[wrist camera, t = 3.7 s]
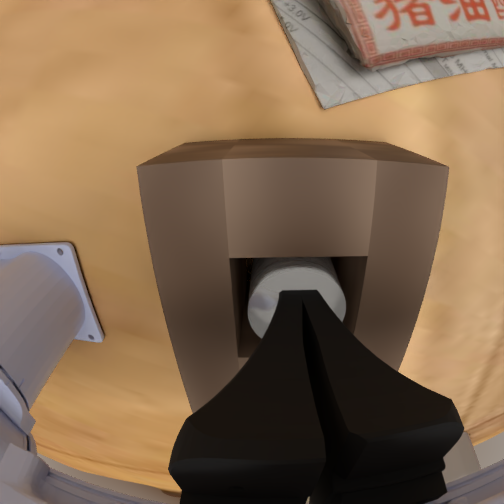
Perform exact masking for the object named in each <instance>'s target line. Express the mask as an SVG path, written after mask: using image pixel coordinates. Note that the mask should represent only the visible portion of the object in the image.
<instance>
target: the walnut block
mask: <svg viewBox="0 0 504 504" xmlns="http://www.w3.org/2000/svg"><path fill="white" fill-rule="evenodd" d="M137 174H138V181H139V188H140V195H141V202H142V208H143V214H144V220H145V226H146V232H147V237H148V242H149V248H150V253H151V258H152V263H153V268H154V272H155V277H156V282H157V286H158V291H159V295H160V299H161V304H162V308H163V312H164V316H165V320H166V324H167V328H168V332H169V335H170V339H171V343H172V346H173V350H174V354H175V357H176V361H177V364H178V368H179V371H180V374H181V378H182V381H183V384H184V387H185V391H186V394H187V397H188V400H189V403H190V406H191V409H192V412H193V413H194V412H196V411H197V410H198V409H200V408H201V407H202V406H204V405H205V404H206V403H207V402H209V401H210V400H211V399H212V398H213V397H214V396H215V395H216V394H217V393H219V392H220V391H221V390H222V389H223V388H224V387H225V386H226V385H227V384H228V383H229V382H230V381H231V380H232V379H233V378H234V376H235V375H236V374H237V373H238V372H239V371H240V369H241V368H242V367H243V366H244V364H245V363H246V362H247V361H248V359H249V358H250V356H251V355H252V354H253V352H254V351H255V349H256V348H257V346H258V344H259V343H260V341H261V339H262V338H260V337H259V336H258V335H257V334H256V333H255V332H254V330H253V329H252V327H251V325H250V322H249V319H248V302H249V292H250V282H251V281H247V272H246V258H266V257H330V258H331V261H332V264H333V266H334V269H335V272H336V274H337V277H338V280H339V283H340V285H341V288H342V291H343V294H344V297H345V301H346V312H345V317H344V319H343V321H342V323H343V324H344V325H345V326H346V327H347V328H348V329H349V331H350V332H351V333H352V334H353V335H354V336H355V337H356V338H357V339H358V340H359V341H360V342H361V343H362V344H363V345H364V346H365V347H366V348H368V349H369V350H370V351H371V352H372V353H373V354H375V355H376V356H377V357H378V358H380V359H381V360H382V361H383V362H385V363H386V364H388V365H389V366H390V367H392V368H393V369H395V370H396V371H398V370H399V367H400V365H401V362H402V360H403V357H404V355H405V352H406V349H407V347H408V344H409V341H410V338H411V335H412V332H413V330H414V327H415V324H416V321H417V317H418V314H419V311H420V308H421V305H422V301H423V298H424V294H425V291H426V287H427V284H428V280H429V276H430V272H431V268H432V264H433V260H434V255H435V251H436V246H437V242H438V237H439V232H440V227H441V221H442V216H443V210H444V203H445V197H446V190H447V182H448V174H449V167H448V166H446V165H443V164H441V163H439V162H436V161H434V160H431V159H429V158H426V157H424V156H421V155H419V154H416V153H414V152H411V151H408V150H406V149H403V148H400V147H398V146H395V145H392V144H389V143H385V142H372V141H358V140H339V139H303V138H275V139H239V140H220V141H205V142H192V143H184V144H182V145H180V146H178V147H175V148H173V149H171V150H169V151H167V152H165V153H163V154H161V155H159V156H156V157H154V158H152V159H150V160H148V161H146V162H144V163H142V164H140V165H138V166H137Z"/></svg>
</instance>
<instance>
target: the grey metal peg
mask: <svg viewBox="0 0 504 504" xmlns="http://www.w3.org/2000/svg"><path fill="white" fill-rule="evenodd" d="M282 290H318V291H319V293H320V294H321V295H322V297H323V298H324V300H325V301H326V302H327V304H328V305H329V306H330V308H331V309H332V310H333V312H334V313H335V314H336V315H337V317H338V318H339V319H340V320H341V321H343V319H344V317H345V312H346V301H345V297H344V294H343V291H342V288H341V285H340V283H339V280H338V277H337V274H336V272H335V269H334V266H333V264H332V261H331V258H330V257H266V258H253V261H252V271H251V282H250V292H249V302H248V319H249V322H250V325H251V327H252V329H253V330H254V332H255V333H256V334H257V335H258V336H259V337H260V338H262V337H263V336H264V334H265V332H266V330H267V328H268V326H269V324H270V322H271V319H272V317H273V315H274V312H275V309H276V306H277V303H278V299H279V293H280V292H281V291H282Z"/></svg>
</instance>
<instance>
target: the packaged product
mask: <svg viewBox="0 0 504 504" xmlns="http://www.w3.org/2000/svg"><path fill="white" fill-rule="evenodd" d="M270 1H271V3H272V5H273V7H274V10H275V12H276V14H277V16H278V18H279V20H280V23H281V25H282V27H283V29H284V31H285V33H286V35H287V37H288V40H289V42H290V44H291V46H292V48H293V51H294V53H295V55H296V57H297V60H298V62H299V64H300V66H301V69H302V70H303V72H304V74H305V76H306V78H307V80H308V81H309V83H310V85H311V87H312V89H313V90H314V92H315V94H316V96H317V98H318V100H319V102H320V104H321V106H322V107H323V108H324V109H327V108H330V107H333V106H337V105H340V104H343V103H346V102H350V101H353V100H357V99H360V98H364V97H368V96H371V95H375V94H379V93H382V92H386V91H390V90H394V89H398V88H402V87H406V86H410V85H413V84H418V83H422V82H426V81H430V80H434V79H439V78H443V77H448V76H452V75H457V74H462V73H470V72H476V71H481V70H484V69H493V68H500V67H504V0H270Z"/></svg>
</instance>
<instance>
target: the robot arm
mask: <svg viewBox="0 0 504 504" xmlns="http://www.w3.org/2000/svg"><path fill="white" fill-rule="evenodd" d="M60 248H61V249H62V251H63V252H62V251H61V249H60ZM73 339H78V340H84V341H91V342H102V341H103V339H104V335H103V332H102V330H101V327H100V325H99V322H98V319H97V317H96V314H95V311H94V309H93V306H92V303H91V300H90V297H89V295H88V292H87V289H86V286H85V283H84V280H83V276H82V273H81V270H80V267H79V263H78V260H77V257H76V253H75V250H74V247H73V246H72V244H70V243H68V242H58V243H34V244H13V245H0V504H167V503H161V502H157V501H152V500H147V499H143V498H139V497H135V496H130V495H127V494H123V493H120V492H116V491H113V490H109V489H106V488H103V487H100V486H97V485H94V484H91V483H88V482H85V481H82V480H80V479H77V478H74V477H72V476H69V475H67V474H64V473H62V472H59V471H57V470H55V469H52V468H50V467H49V465H48V464H46V463H45V462H44V461H43V460H42V459H41V458H40V457H38V456H37V448H36V443H35V440H34V438H33V436H32V434H31V433H30V432H31V430H32V428H33V426H34V424H35V422H36V421H35V419H34V418H33V417H32V416H31V415H30V413H29V410H30V409H31V407H32V405H33V403H34V402H35V400H36V398H37V397H38V395H39V393H40V391H41V390H42V388H43V386H44V385H45V383H46V382H47V380H48V378H49V377H50V375H51V373H52V372H53V370H54V369H55V367H56V365H57V364H58V362H59V361H60V359H61V358H62V356H63V355H64V353H65V351H66V350H67V348H68V347H69V345H70V344H71V342H72V341H73ZM463 431H464V427H463V424H462V422H461V419H460V416H459V414H458V411H457V409H456V407H455V405H454V403H453V402H452V400H451V399H449V398H447V397H445V396H443V395H440V394H438V393H436V392H434V391H431V390H429V389H427V388H425V387H423V386H421V385H419V384H418V383H416V382H414V381H412V380H411V379H409V378H407V377H406V376H404V375H402V374H401V373H399V372H398V371H396V370H395V369H393V368H392V367H390V366H389V365H388V364H386V363H385V362H383V361H382V360H381V359H380V358H378V357H377V356H376V355H375V354H373V353H372V352H371V351H370V350H369V349H368V348H366V347H365V346H364V345H363V344H362V343H361V342H360V341H359V340H358V339H357V338H356V337H355V336H354V335H353V334H352V333H351V332H350V331H349V329H348V328H347V327H346V326H345V325H344V324H343V323H342V321H341V320H340V319H339V318H338V317H337V315H336V314H335V313H334V312H333V310H332V309H331V308H330V306H329V305H328V304H327V302H326V301H325V300H324V298H323V297H322V295H321V294H320V293H319V291H318V290H282V291H281V292H280V293H279V299H278V303H277V306H276V309H275V312H274V315H273V317H272V319H271V322H270V324H269V326H268V328H267V330H266V332H265V334H264V336H263V337H262V339H261V341H260V343H259V344H258V346H257V348H256V349H255V351H254V352H253V354H252V355H251V356H250V358H249V359H248V361H247V362H246V363H245V364H244V366H243V367H242V368H241V369H240V371H239V372H238V373H237V374H236V375H235V376H234V378H233V379H232V380H231V381H230V382H229V383H228V384H227V385H226V386H225V387H224V388H223V389H222V390H221V391H220V392H219V393H217V394H216V395H215V396H214V397H213V398H212V399H211V400H210V401H209V402H207V403H206V404H205V405H204V406H202V407H201V408H200V409H198V410H197V411H196V412H194V413H193V414H192V415H191V416H189V417H188V418H187V419H186V420H185V422H184V424H183V426H182V428H181V430H180V432H179V434H178V436H177V439H176V441H175V444H174V446H173V450H172V454H171V458H170V463H169V467H168V470H169V473H170V475H171V476H172V477H173V479H174V480H175V481H176V483H177V484H178V485H179V487H180V488H181V489H182V494H181V499H180V504H305V503H306V501H307V499H308V497H309V504H504V459H503V460H501V461H499V462H497V463H494V464H492V465H490V466H488V467H486V468H484V469H481V470H479V471H477V472H474V473H472V474H470V475H467V476H465V477H462V478H460V479H457V480H454V481H451V482H449V483H446V484H445V481H444V477H443V474H442V471H443V470H444V469H445V467H446V465H445V462H444V459H443V457H444V456H445V455H446V454H447V453H448V452H449V451H450V450H451V449H452V448H453V446H454V445H455V444H456V443H457V442H458V440H459V439H460V438H461V436H462V434H463Z"/></svg>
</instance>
